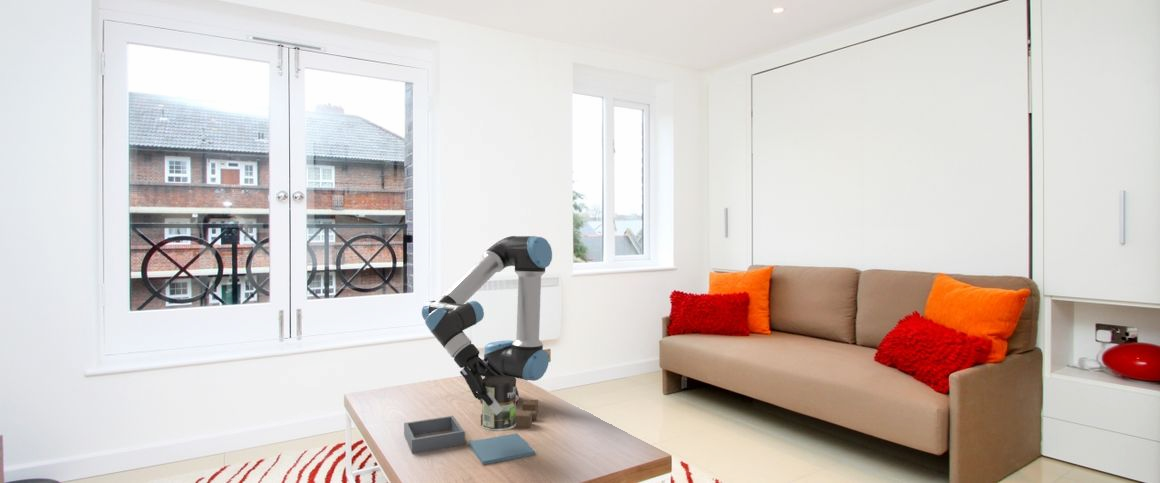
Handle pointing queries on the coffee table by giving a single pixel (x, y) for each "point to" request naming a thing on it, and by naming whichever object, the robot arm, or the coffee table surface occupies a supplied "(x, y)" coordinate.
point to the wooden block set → (525, 414)
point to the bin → (436, 440)
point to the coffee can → (506, 397)
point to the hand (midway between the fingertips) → (508, 406)
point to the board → (500, 448)
